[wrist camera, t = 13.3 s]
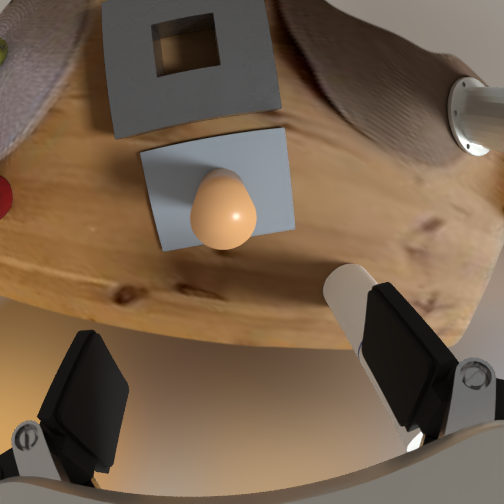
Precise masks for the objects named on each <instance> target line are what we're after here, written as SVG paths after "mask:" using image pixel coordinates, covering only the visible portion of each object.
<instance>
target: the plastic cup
mask: <svg viewBox="0 0 504 504" xmlns="http://www.w3.org/2000/svg"><path fill="white" fill-rule="evenodd" d="M12 200H13V199H12V190H11V187H10V184H9V183H8V181H7V180H6V179H5V178H4V177H2V176H0V220H1V219H2V218H3V217H4V216H5V215H6V214H7V212H8V211H9V209H10V208H11V205H12Z"/></svg>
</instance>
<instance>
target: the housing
mask: <svg viewBox="0 0 504 504" xmlns="http://www.w3.org/2000/svg"><path fill="white" fill-rule="evenodd" d="M213 28H214V34H215V41H216V48H217V55H218V61H219V66H212V67H206V68H200V69H195V70H190V71H185V72H180V73H175V74H171V75H166V76H165V74H164V67H163V59H162V51H161V42H160V39H161V38H165V37H170V36H174V35H179V34H184V33H189V32H195V31H201V30H207V29H213ZM102 32H103V48H104V60H105V70H106V80H107V88H108V96H109V103H110V110H111V116H112V123H113V129H114V134H115V140H117V139H124V138H131V137H134V136H138V135H142V134H146V133H150V132H154V131H158V130H162V129H167V128H171V127H176V126H180V125H185V124H190V123H195V122H201V121H206V120H212V119H218V118H224V117H231V116H238V115H245V114H253V113H261V112H271V111H275V110H278V109H281V108H282V107H281V100H280V93H279V86H278V79H277V72H276V66H275V60H274V53H273V47H272V41H271V36H270V30H269V24H268V19H267V13H266V8H265V3H264V0H108V1H105V2H102Z"/></svg>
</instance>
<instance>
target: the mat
mask: <svg viewBox="0 0 504 504" xmlns="http://www.w3.org/2000/svg"><path fill="white" fill-rule="evenodd" d="M140 155H141V160H142V165H143V170H144V175H145V180H146V184H147V189H148V193H149V198H150V202H151V206H152V210H153V215H154V219H155V223H156V227H157V231H158V234H159V238H160V242H161V246H162V249H163V252H164V251H170V250H175V249H181V248H187V247H192V246H198V245H204V244H203V243H202V242H201V241H200V240H199V239H198V238H197V237H196V236H195V234H194V232H193V230H192V228H191V223H190V213H191V209H192V206H193V203H194V200H195V197H196V194H197V191H198V188H199V185H200V182H201V180H202V178H203V177H204V176H205V175H206V174H207V173H208V172H210V171H212V170H214V169H218V168H225V169H229V170H232V171H233V172H235V173H236V174H237V175H238V176H239V177H240V178H241V180H242V182H243V184H244V186H245V188H246V190H247V192H248V194H249V196H250V198H251V200H252V202H253V204H254V206H255V209H256V215H257V220H256V226H255V229H254V231H253V233H252V234H251V236H256V235H262V234H268V233H274V232H280V231H286V230H292V229H295V221H294V210H293V199H292V189H291V179H290V170H289V161H288V152H287V144H286V136H285V128H275V129H266V130H258V131H250V132H243V133H236V134H229V135H223V136H217V137H211V138H206V139H200V140H195V141H190V142H185V143H180V144H175V145H171V146H166V147H162V148H157V149H153V150H149V151H145V152H141V153H140Z"/></svg>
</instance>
